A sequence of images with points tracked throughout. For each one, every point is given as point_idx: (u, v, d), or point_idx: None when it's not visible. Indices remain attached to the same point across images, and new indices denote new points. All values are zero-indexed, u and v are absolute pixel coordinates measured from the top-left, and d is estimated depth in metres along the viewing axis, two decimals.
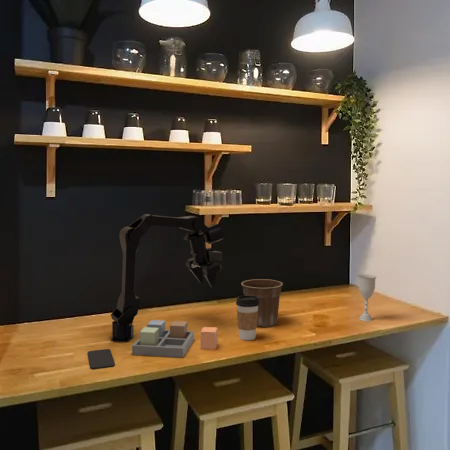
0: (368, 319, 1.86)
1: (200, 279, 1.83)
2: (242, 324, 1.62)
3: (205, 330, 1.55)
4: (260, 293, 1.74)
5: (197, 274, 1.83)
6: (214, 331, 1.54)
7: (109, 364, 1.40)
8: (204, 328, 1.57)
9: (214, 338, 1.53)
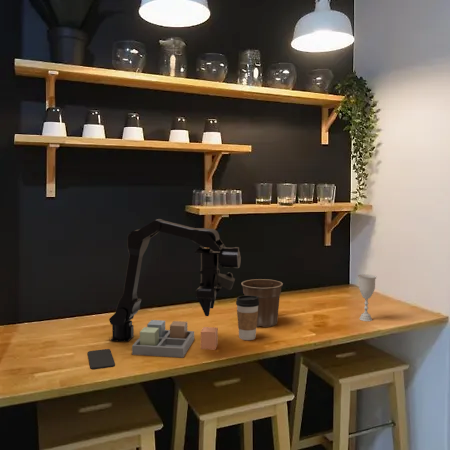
0: (368, 319, 1.86)
1: (210, 303, 1.60)
2: (242, 324, 1.62)
3: (205, 330, 1.55)
4: (260, 293, 1.74)
5: None
6: (214, 331, 1.54)
7: (109, 364, 1.40)
8: (204, 328, 1.57)
9: (214, 338, 1.53)
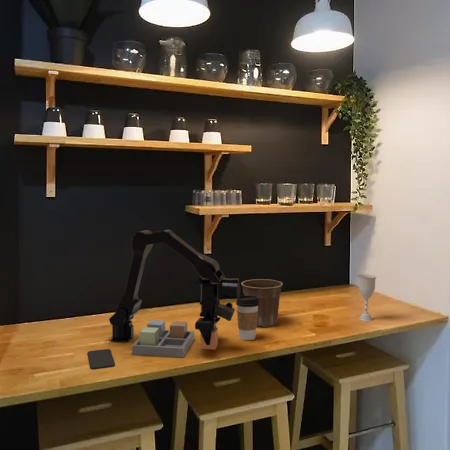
0: (368, 319, 1.86)
1: None
2: (242, 324, 1.62)
3: None
4: (260, 293, 1.74)
5: None
6: (214, 331, 1.54)
7: (109, 364, 1.40)
8: None
9: (214, 338, 1.53)
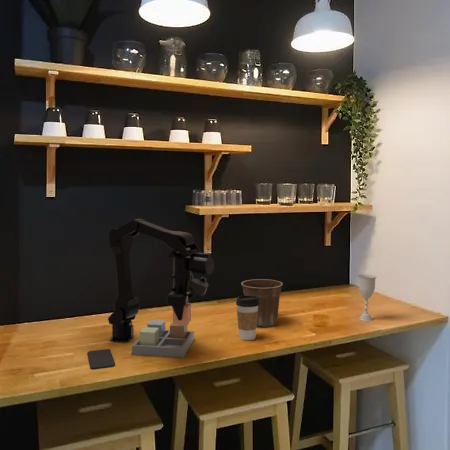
0: (368, 319, 1.86)
1: None
2: (242, 324, 1.62)
3: None
4: (260, 293, 1.74)
5: None
6: (187, 306, 1.50)
7: (109, 364, 1.40)
8: None
9: (187, 313, 1.49)
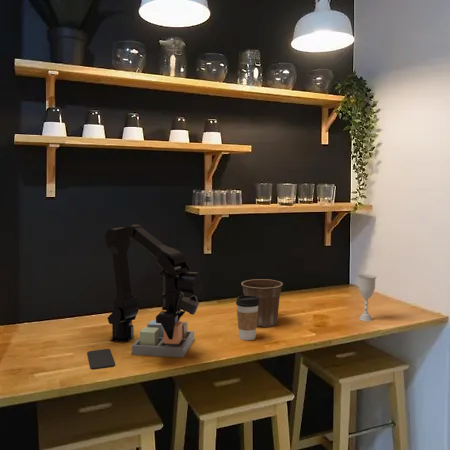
0: (368, 319, 1.86)
1: None
2: (242, 324, 1.62)
3: None
4: (260, 293, 1.74)
5: None
6: (177, 325, 1.49)
7: (109, 364, 1.40)
8: None
9: (177, 332, 1.48)
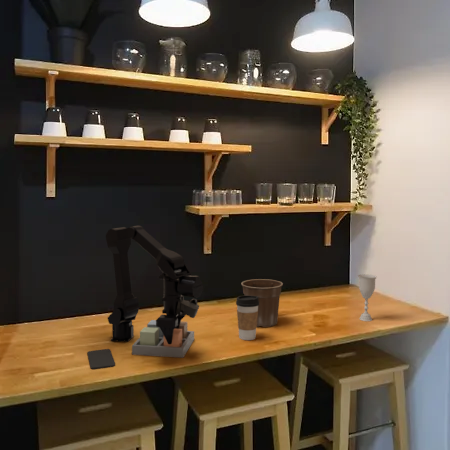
0: (368, 319, 1.86)
1: None
2: (242, 324, 1.62)
3: None
4: (260, 293, 1.74)
5: None
6: (177, 333, 1.49)
7: (109, 364, 1.40)
8: None
9: (177, 340, 1.48)
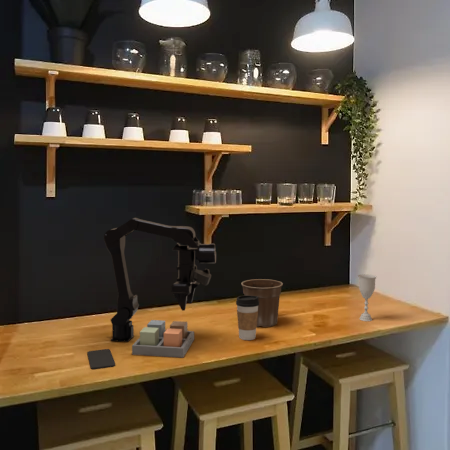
0: (368, 319, 1.86)
1: (189, 298, 1.66)
2: (242, 324, 1.62)
3: (168, 331, 1.50)
4: (260, 293, 1.74)
5: None
6: (177, 333, 1.49)
7: (109, 364, 1.40)
8: (168, 329, 1.52)
9: (177, 340, 1.48)
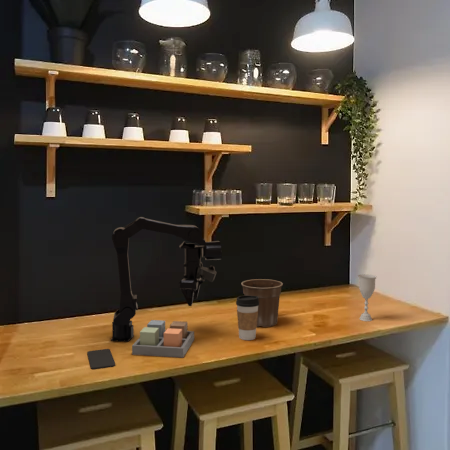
0: (368, 319, 1.86)
1: (194, 294, 1.72)
2: (242, 324, 1.62)
3: (168, 331, 1.50)
4: (260, 293, 1.74)
5: None
6: (177, 333, 1.49)
7: (109, 364, 1.40)
8: (168, 329, 1.52)
9: (177, 340, 1.48)
